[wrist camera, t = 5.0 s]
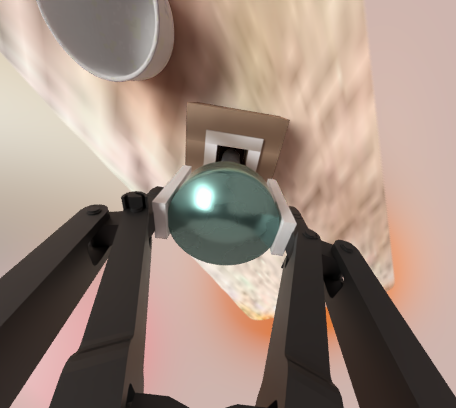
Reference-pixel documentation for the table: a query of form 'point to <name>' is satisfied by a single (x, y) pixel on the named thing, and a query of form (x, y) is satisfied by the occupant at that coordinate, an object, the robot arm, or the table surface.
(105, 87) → the table surface
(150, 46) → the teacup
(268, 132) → the block
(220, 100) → the table surface
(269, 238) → the teal rounded knob
